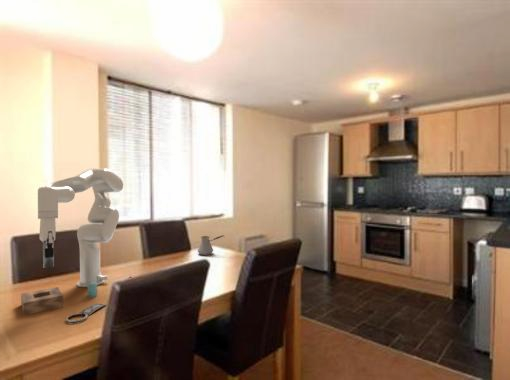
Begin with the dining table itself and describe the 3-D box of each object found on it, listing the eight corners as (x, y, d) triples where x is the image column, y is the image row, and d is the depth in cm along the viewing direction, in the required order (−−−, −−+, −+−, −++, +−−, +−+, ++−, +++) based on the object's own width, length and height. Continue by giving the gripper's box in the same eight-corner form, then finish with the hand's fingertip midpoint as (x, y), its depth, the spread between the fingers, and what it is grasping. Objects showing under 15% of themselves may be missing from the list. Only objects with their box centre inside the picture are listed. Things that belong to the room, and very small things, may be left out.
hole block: (58, 297, 153) (57, 287, 153) (63, 306, 142) (62, 295, 142) (21, 304, 144) (21, 293, 144) (23, 315, 133) (23, 303, 133)
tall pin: (55, 265, 146) (55, 236, 146) (51, 267, 142) (51, 238, 142) (45, 265, 146) (45, 236, 145) (41, 268, 142) (41, 238, 141)
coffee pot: (194, 255, 237) (194, 234, 237) (202, 251, 248) (202, 232, 247) (221, 257, 230) (221, 236, 229) (227, 254, 241) (227, 233, 240)
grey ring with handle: (110, 306, 143) (110, 302, 143) (78, 326, 125) (78, 320, 125) (94, 305, 145) (94, 300, 145) (60, 324, 126) (60, 319, 126)
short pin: (98, 294, 157) (97, 282, 157) (95, 297, 153) (95, 284, 153) (89, 294, 157) (89, 282, 157) (86, 297, 153) (86, 285, 153)
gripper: (35, 214, 148) (35, 254, 148) (40, 216, 135) (41, 261, 135) (54, 213, 152) (54, 252, 153) (61, 215, 140) (61, 258, 140)
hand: (48, 255), depth 144 cm, fingers closed on tall pin, 4 cm apart
